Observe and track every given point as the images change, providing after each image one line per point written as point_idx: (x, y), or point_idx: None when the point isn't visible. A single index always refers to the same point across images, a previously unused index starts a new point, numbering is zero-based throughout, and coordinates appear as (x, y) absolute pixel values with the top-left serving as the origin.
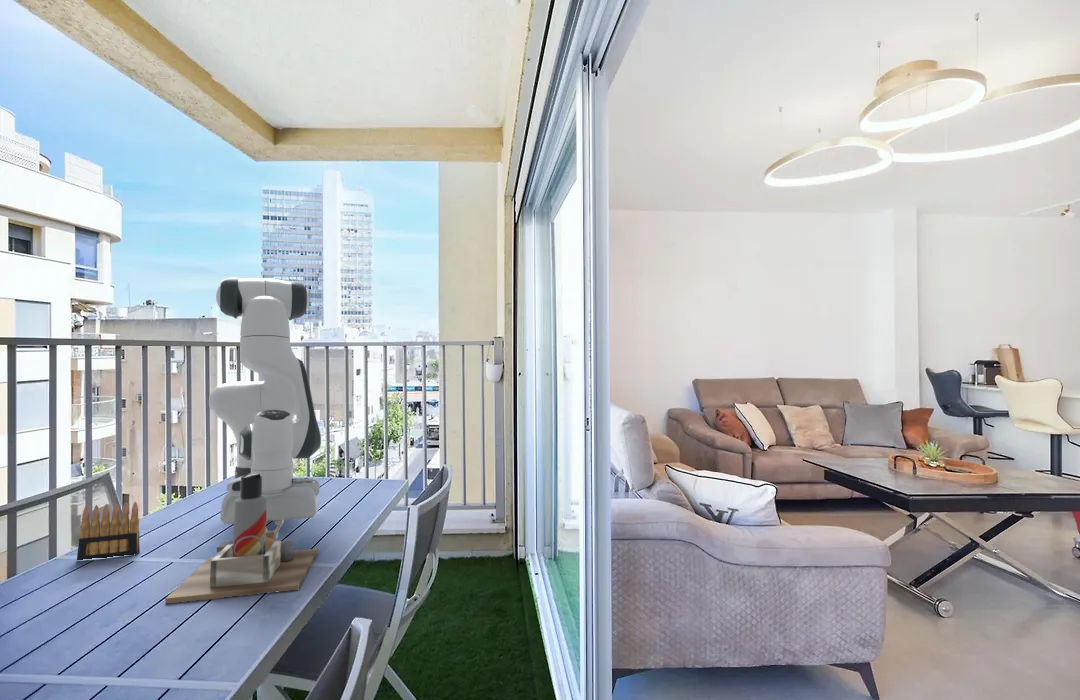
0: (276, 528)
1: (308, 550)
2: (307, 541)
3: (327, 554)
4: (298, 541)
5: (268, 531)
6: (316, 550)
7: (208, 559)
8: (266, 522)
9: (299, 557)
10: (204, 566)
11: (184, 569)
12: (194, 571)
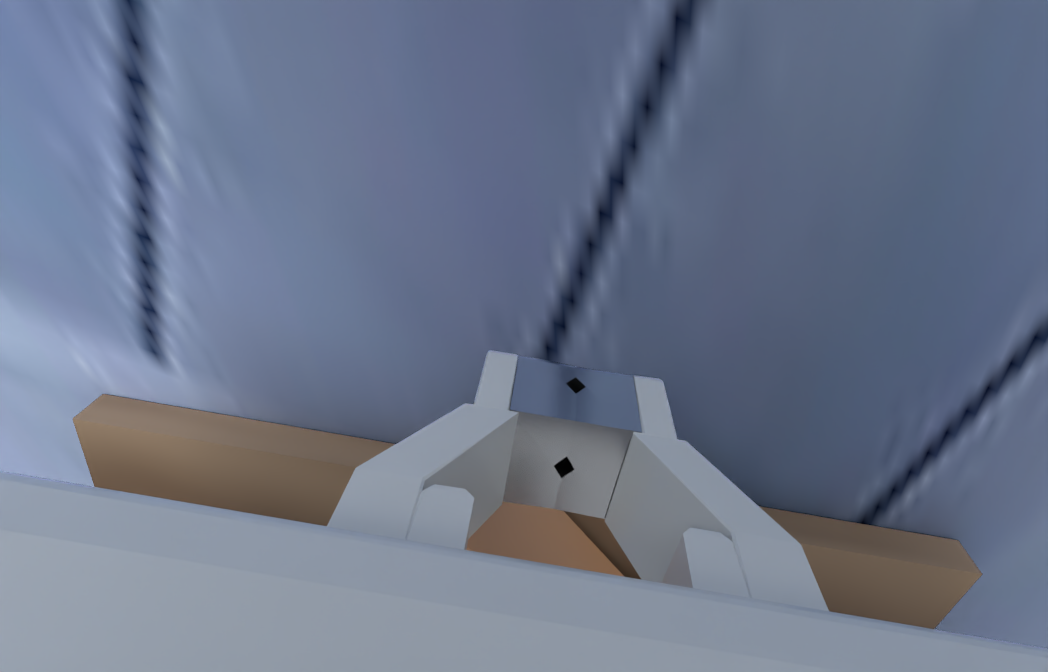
0: (649, 580)
1: (895, 582)
2: (1024, 157)
3: (1016, 590)
4: (919, 101)
5: (532, 459)
6: (957, 597)
7: (95, 459)
8: (471, 512)
9: None
10: None
11: (3, 457)
12: None
